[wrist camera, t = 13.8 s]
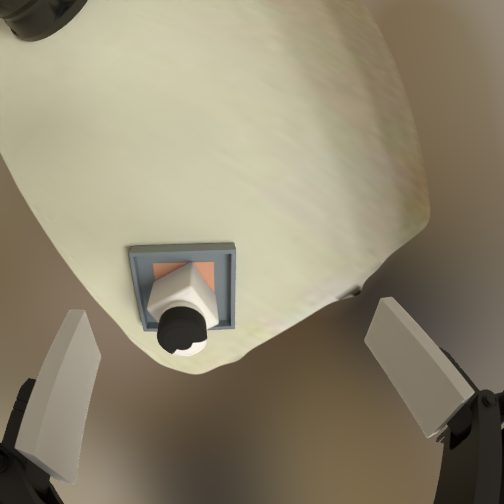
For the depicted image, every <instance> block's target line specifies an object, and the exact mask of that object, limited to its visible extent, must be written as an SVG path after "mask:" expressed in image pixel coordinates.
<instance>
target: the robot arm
mask: <svg viewBox="0 0 504 504" xmlns="http://www.w3.org/2000/svg"><path fill="white" fill-rule="evenodd" d="M86 2H87V0H0V18H2V19H4V20H5V22H6V23H7V25H8V26H9V27H10V28H11V31H12V32H13V34H14V35H15V36H16V37H18V38H20V39H23V40H26V41H37V40H40V39H43V38H46V37H48V36H50V35H51V34H53V33H55V32H56V31H58V30H59V29H61V28H62V27H63V26H64V25H66V24H67V23H68V22H69V21H70V20H71V19H72V18H73V17H74V16H75V15H76V14H77V13H78V12H79V11H80V10H81V9H82V7H83V6H84V5H85V3H86ZM364 341H365V343H366V345H367V346H368V347H369V349H370V350H371V352H372V353H373V355H374V356H375V358H376V359H377V361H378V362H379V364H380V365H381V367H382V368H383V370H384V371H385V373H386V374H387V376H388V377H389V379H390V380H391V382H392V383H393V385H394V386H395V388H396V389H397V391H398V392H399V394H400V396H401V397H402V399H403V400H404V402H405V403H406V405H407V407H408V408H409V410H410V411H411V413H412V415H413V416H414V418H415V419H416V421H417V422H418V424H419V426H420V427H421V429H422V431H423V432H424V434H425V436H426V437H427V438H429V437H430V436H432V435H434V434H435V433H437V432H439V431H440V430H441V429H442V428H443V427H444V426H445V425H446V424H447V425H448V427H447V429H446V430H444V432H442V433H441V434H440V435H439V437H438V438H437V440H436V442H439V441H440V440H441V439H442V438H443V437H444V436H445V438H443V440H442V441H441V443H444V449H443V456H442V463H441V470H440V476H439V481H438V486H437V491H436V495H435V500H434V504H504V428H503V429H502V430H501V424H502V423H503V422H504V391H503V392H501V393H497V394H494V393H493V392H491V391H489V390H482V391H479V389H478V388H477V387H476V386H475V385H474V384H473V382H472V381H471V380H470V378H469V377H468V376H467V375H466V374H465V372H464V371H463V370H462V369H461V368H460V366H459V365H458V364H457V363H456V362H455V360H454V359H453V358H452V357H451V356H450V354H449V353H447V352H446V351H445V350H443V349H442V348H440V347H439V348H438V346H437V345H436V344H435V343H434V342H433V341H432V340H431V338H430V337H429V336H428V335H427V334H426V333H425V332H424V331H423V329H422V328H421V327H420V326H419V325H418V324H417V323H416V322H415V321H414V320H413V319H412V317H410V315H409V314H408V313H407V312H406V311H405V310H404V309H403V308H402V307H401V306H400V305H399V304H398V303H397V302H396V300H394V298H393V297H387V298H381V299H380V301H379V304H378V307H377V309H376V312H375V315H374V317H373V320H372V323H371V325H370V327H369V330H368V332H367V335H366V337H365V339H364ZM100 359H101V354H100V352H99V349H98V347H97V344H96V341H95V339H94V336H93V333H92V330H91V327H90V324H89V321H88V318H87V315H86V312H85V310H77V309H70V310H69V311H68V313H67V315H66V317H65V319H64V321H63V323H62V325H61V327H60V329H59V331H58V333H57V335H56V337H55V339H54V341H53V343H52V345H51V348H50V350H49V352H48V354H47V356H46V359H45V361H44V363H43V366H42V368H41V370H40V373H39V375H38V378H37V380H35V379H30V378H29V379H28V380H27V381H26V382H25V383H24V384H23V385H22V386H21V388H20V390H19V393H18V396H17V401H15V403H14V407H13V410H12V412H11V415H10V418H9V421H8V424H7V427H6V431H5V434H4V437H3V440H2V443H0V504H64V503H63V501H62V500H61V498H60V497H59V495H58V494H57V492H56V490H55V488H54V487H53V485H52V484H51V483H50V481H49V479H50V476H51V477H53V478H54V479H56V480H58V481H60V482H63V483H66V484H70V485H74V486H76V482H77V473H78V464H79V457H80V450H81V444H82V437H83V432H84V426H85V421H86V416H87V411H88V407H89V402H90V398H91V394H92V389H93V386H94V382H95V378H96V374H97V370H98V367H99V362H100Z"/></svg>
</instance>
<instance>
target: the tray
mask: <svg viewBox="0 0 504 504" xmlns="http://www.w3.org/2000/svg"><path fill="white" fill-rule="evenodd" d="M129 258H130V265H131V271H132V277H133V282H134V288H135V293H136V298H137V303H138V308H139V312H140V317H141V321H142V326H143V330H144V331H158V325H159V323H158V322H157V321H156V320H155V319H154V317H153V316H152V315H151V314H150V313H149V312H148V310H147V306H148V302H149V298H150V294H151V290H152V286H153V283H154V282H155V281H156V280H158V279H160V278H162V277H164V276H165V275H167V274H169V273H171V272H173V271H174V270H176V269H178V268H180V267H182V266H184V265H185V264H187V263H189V262H193V263H194V265H195V266H196V268H197V269H198V270H199V272H200V273H201V275H202V276H203V278H204V279H205V281H206V282H207V284H208V285H209V287H210V288H211V289H212V291H213V292H214V294H215V295H216V302H217V311H218V319H219V323H218V324H217V325H215V326H213V327H211V328H209V329H207V330H221V329H235V279H236V248H235V244H234V243H205V244H173V245H144V246H132V248H131V250H130V252H129Z"/></svg>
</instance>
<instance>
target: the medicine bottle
mask: <svg viewBox="0 0 504 504" xmlns="http://www.w3.org/2000/svg"><path fill="white" fill-rule="evenodd" d="M147 310H148V312H149V313H150V314H151V315H152V316H153V317H154V319H155V320H156V321H157V322H158V323H159V325H158V332H157V339H158V342H159V344H160V345H161V347H162V348H163V349H165V350H166V351H167V352H169V353H171V354H173V355H177V356H191V355H194V354H196V353H198V352H200V351H201V350H202V349H203V348H204V347H205V345H206V343H207V329H209V328H211V327H213V326H215V325H217V324H218V323H219V319H218V311H217V302H216V295H215V294H214V292H213V291H212V289H211V288H210V287H209V285H208V284H207V282H206V281H205V279H204V278H203V276H202V275H201V273H200V272H199V270H198V269H197V268H196V266H195V265H194V263H193V262H189V263H187V264H185V265H184V266H182V267H180V268H178V269H176V270H174V271H173V272H171V273H169V274H167V275H165V276H164V277H162V278H160V279H158V280H156V281H155V282H154V283H153V286H152V290H151V294H150V298H149V302H148V306H147Z"/></svg>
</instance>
